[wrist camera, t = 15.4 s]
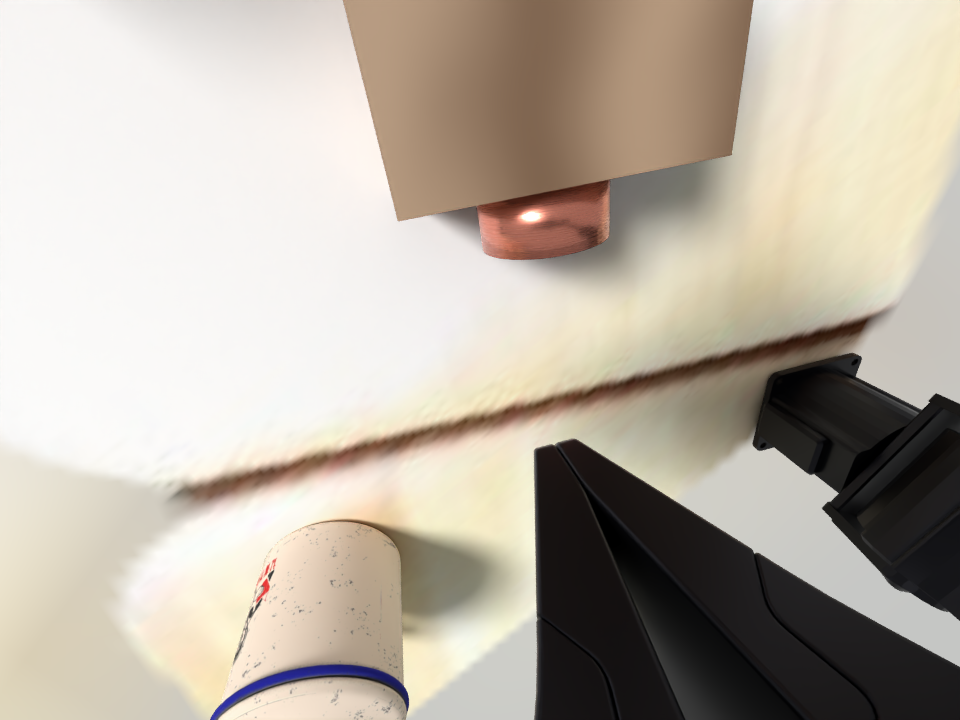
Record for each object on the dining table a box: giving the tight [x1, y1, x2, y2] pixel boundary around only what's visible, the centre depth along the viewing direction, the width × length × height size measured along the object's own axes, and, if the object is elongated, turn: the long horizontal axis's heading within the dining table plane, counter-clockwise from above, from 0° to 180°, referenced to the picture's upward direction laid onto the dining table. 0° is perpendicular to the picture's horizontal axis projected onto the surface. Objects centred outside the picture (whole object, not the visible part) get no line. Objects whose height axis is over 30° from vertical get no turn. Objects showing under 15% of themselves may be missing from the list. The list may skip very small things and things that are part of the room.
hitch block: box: [343, 0, 753, 221], centre depth 12 cm, size 10×8×7 cm
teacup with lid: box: [210, 522, 409, 720], centre depth 22 cm, size 12×9×12 cm
